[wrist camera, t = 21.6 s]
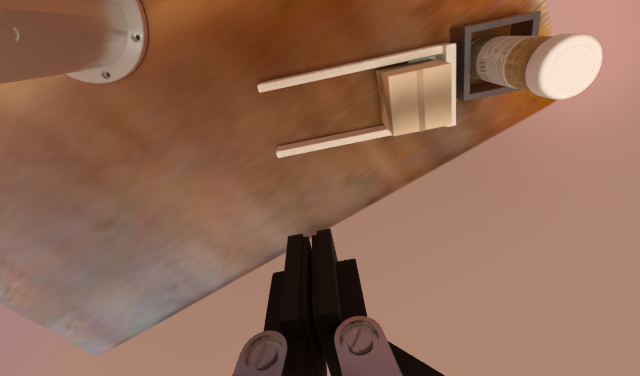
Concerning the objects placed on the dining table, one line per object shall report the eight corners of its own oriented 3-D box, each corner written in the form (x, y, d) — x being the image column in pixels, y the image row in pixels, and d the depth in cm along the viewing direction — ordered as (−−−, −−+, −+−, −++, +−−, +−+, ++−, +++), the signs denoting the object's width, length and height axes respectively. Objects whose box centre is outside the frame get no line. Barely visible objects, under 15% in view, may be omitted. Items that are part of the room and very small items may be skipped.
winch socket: (450, 28, 33) (465, 27, 30) (518, 13, 32) (540, 10, 29) (450, 95, 36) (464, 101, 33) (512, 82, 35) (532, 87, 32)
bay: (259, 82, 35) (255, 86, 32) (444, 42, 33) (456, 43, 31) (279, 152, 38) (276, 161, 36) (445, 118, 37) (455, 125, 34)
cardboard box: (375, 69, 34) (388, 76, 29) (429, 58, 34) (451, 62, 28) (381, 122, 37) (393, 136, 31) (430, 112, 37) (451, 125, 31)
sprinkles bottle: (499, 73, 35) (599, 93, 23) (459, 82, 35) (537, 106, 23) (502, 30, 33) (612, 26, 21) (459, 39, 33) (544, 41, 21)
